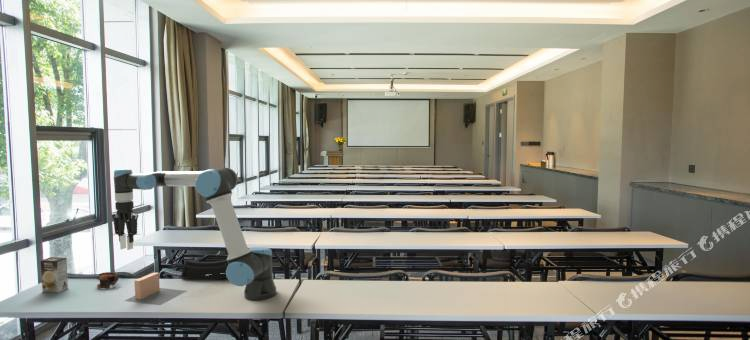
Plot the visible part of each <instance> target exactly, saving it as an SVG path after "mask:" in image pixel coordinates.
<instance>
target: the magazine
mask: <svg viewBox="0 0 750 340" xmlns="http://www.w3.org/2000/svg"><path fill="white" fill-rule="evenodd" d="M227 267H228V263H227V259H225V260H219V261H193V260H189V259H185V261H184V264H183V268H182V271H181V276H180V278H183V279H184V278H185V279H193V280H208V281H209V280H222V279H228V278H227V276H226V270H227ZM220 273H225V274H220ZM206 274H212V275H209V276H205V275H206Z"/></svg>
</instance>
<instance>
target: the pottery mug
mask: <svg viewBox="0 0 750 340" xmlns="http://www.w3.org/2000/svg"><path fill="white" fill-rule="evenodd" d="M96 280H97V281H99V284H97V285H96V287H97V289H98V290H100V289H110V288H111V286H115V285H116V284H117V282H118V281H119V275H117V273H116V272H112V271H111V272H110V271H107V272H106V271H105V272H101V273H99V276H98V277H97V278H96Z"/></svg>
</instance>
